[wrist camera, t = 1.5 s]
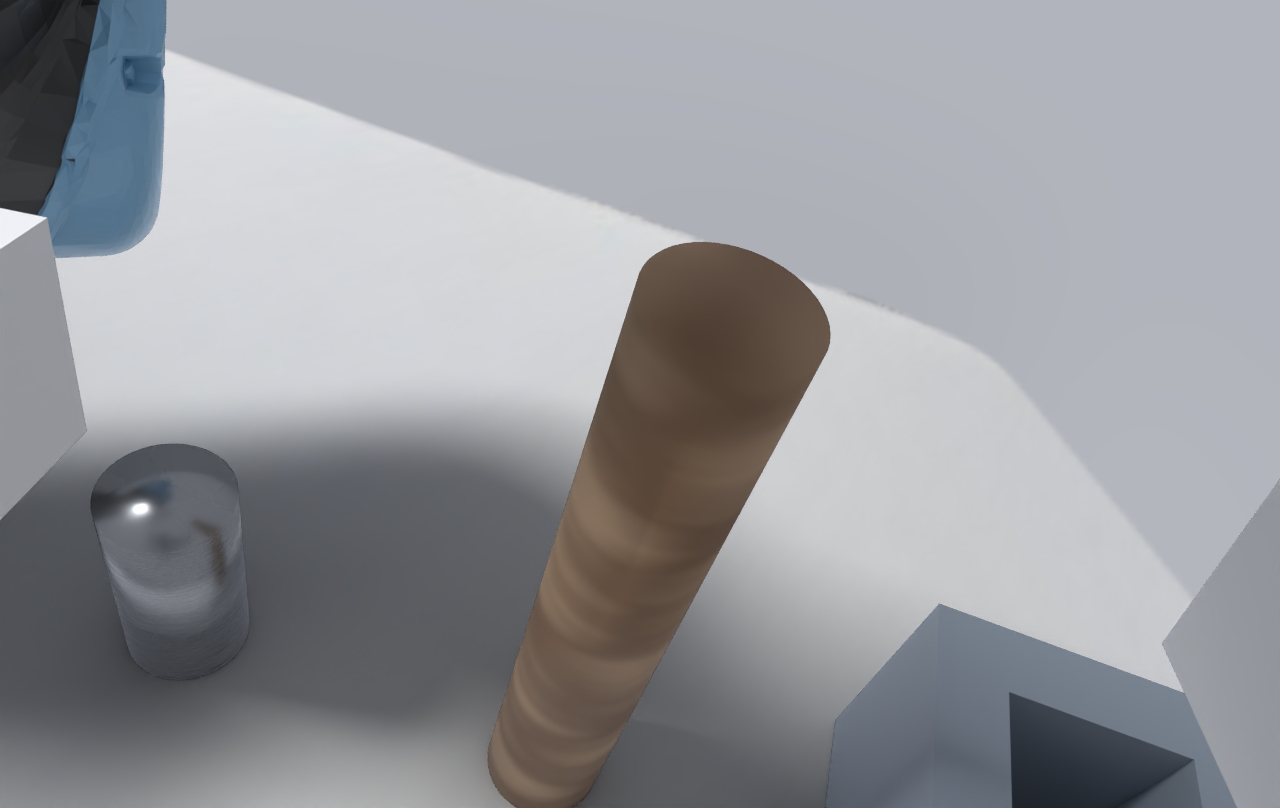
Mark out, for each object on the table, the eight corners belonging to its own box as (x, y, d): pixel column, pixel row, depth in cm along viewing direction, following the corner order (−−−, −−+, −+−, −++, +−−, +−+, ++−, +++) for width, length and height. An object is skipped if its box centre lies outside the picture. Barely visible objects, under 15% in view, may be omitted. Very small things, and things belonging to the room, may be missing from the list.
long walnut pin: (470, 791, 33) (612, 335, 18) (509, 689, 36) (662, 218, 21) (580, 831, 33) (817, 411, 18) (610, 726, 36) (839, 283, 21)
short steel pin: (101, 656, 33) (58, 522, 28) (169, 565, 36) (143, 426, 31) (210, 696, 33) (191, 570, 28) (270, 602, 36) (263, 470, 31)
